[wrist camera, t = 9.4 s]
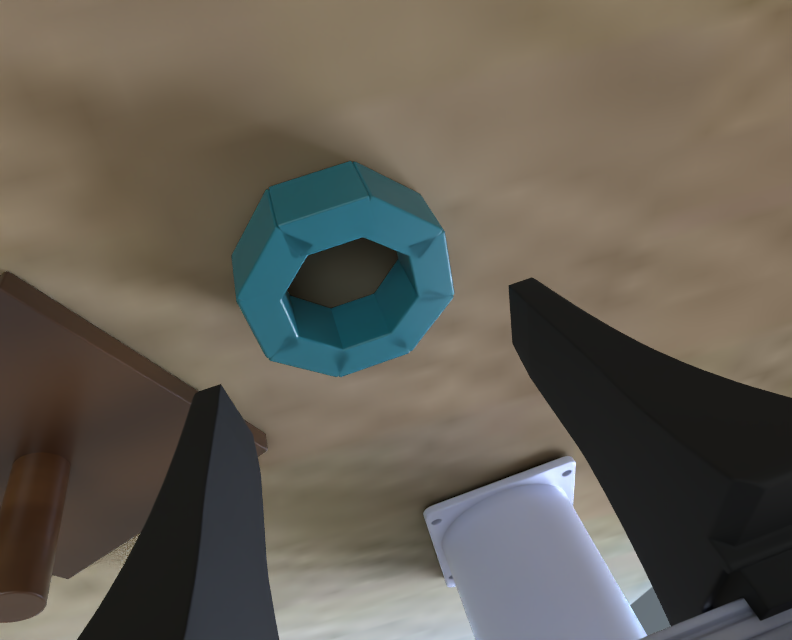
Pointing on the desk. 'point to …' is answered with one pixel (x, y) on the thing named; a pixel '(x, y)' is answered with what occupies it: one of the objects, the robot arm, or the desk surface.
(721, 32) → the desk surface
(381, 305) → the ring
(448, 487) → the desk surface
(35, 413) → the ring toss
